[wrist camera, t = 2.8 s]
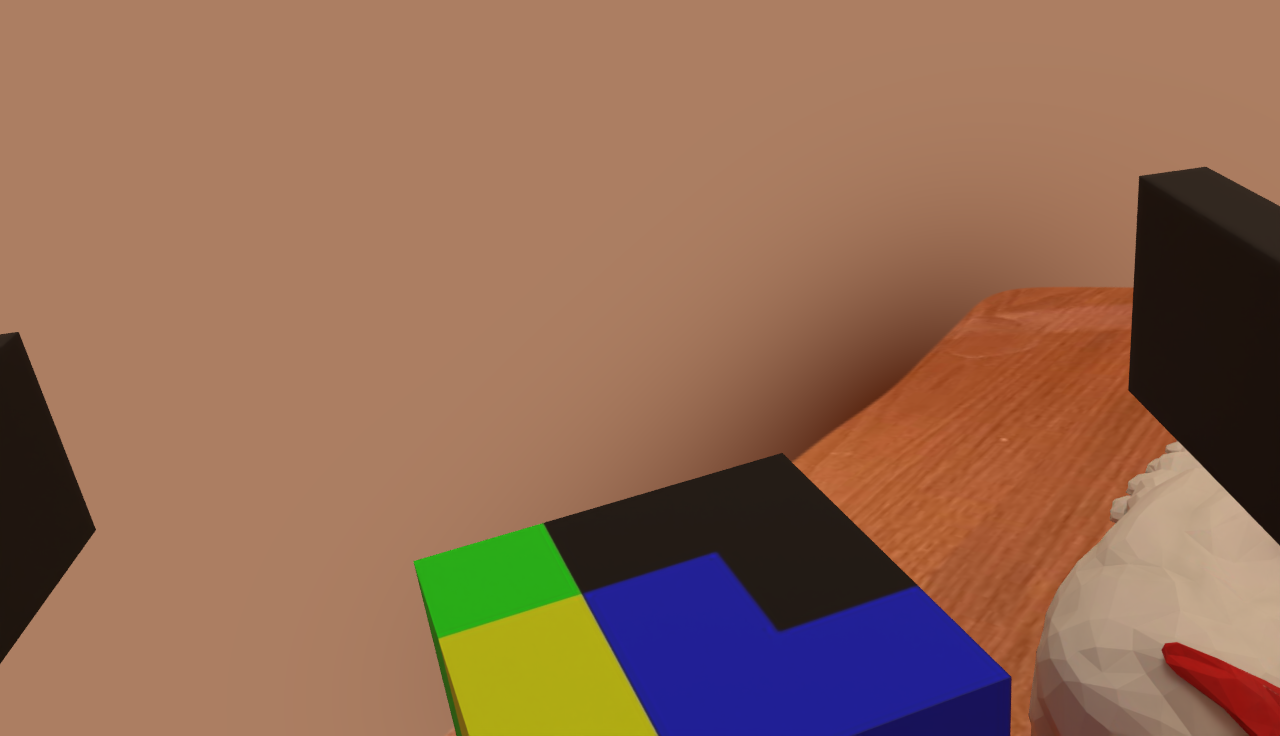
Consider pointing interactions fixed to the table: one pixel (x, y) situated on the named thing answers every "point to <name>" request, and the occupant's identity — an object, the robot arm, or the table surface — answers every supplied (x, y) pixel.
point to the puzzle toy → (702, 623)
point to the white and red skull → (1165, 618)
